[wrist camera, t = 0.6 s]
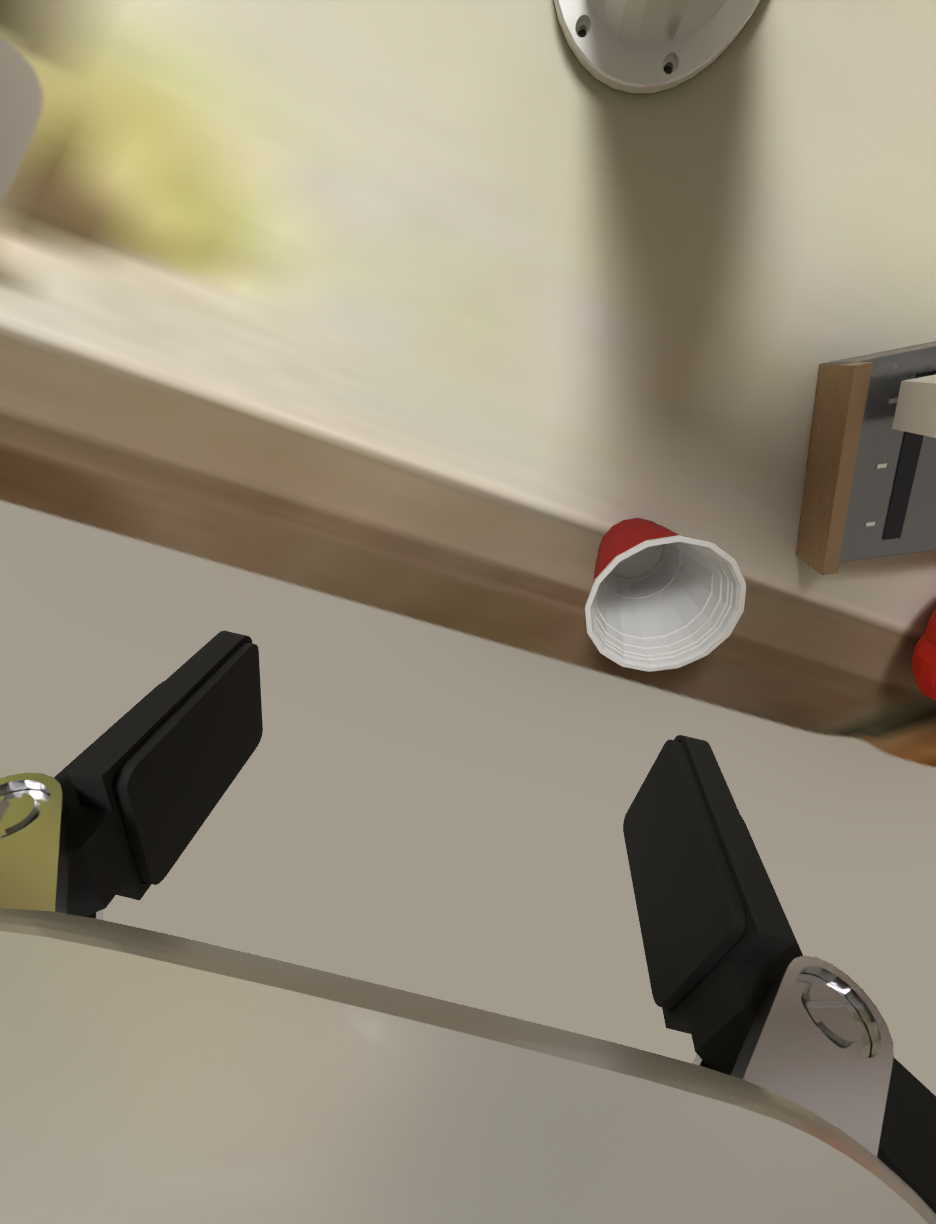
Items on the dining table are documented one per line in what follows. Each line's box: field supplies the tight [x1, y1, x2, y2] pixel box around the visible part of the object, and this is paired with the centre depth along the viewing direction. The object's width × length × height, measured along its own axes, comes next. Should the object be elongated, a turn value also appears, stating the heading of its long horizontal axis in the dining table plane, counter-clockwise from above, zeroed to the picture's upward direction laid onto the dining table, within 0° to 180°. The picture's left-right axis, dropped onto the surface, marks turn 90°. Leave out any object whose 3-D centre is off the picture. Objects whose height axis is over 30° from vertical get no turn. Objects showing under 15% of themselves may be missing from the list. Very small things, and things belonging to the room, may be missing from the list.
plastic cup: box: [585, 518, 746, 672], centre depth 38 cm, size 11×11×12 cm
